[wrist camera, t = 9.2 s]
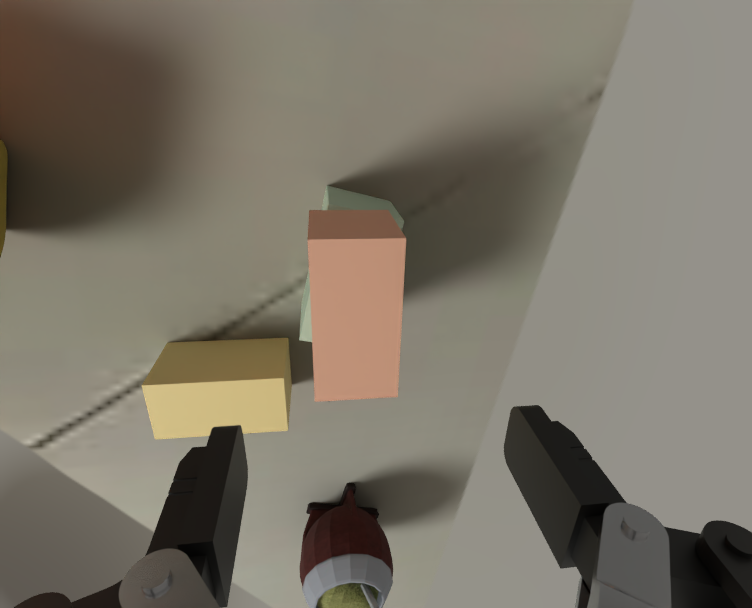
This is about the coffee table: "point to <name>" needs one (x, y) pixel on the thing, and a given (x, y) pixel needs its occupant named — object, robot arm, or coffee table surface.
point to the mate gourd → (345, 556)
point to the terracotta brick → (355, 302)
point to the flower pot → (3, 192)
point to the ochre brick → (219, 387)
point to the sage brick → (342, 201)
